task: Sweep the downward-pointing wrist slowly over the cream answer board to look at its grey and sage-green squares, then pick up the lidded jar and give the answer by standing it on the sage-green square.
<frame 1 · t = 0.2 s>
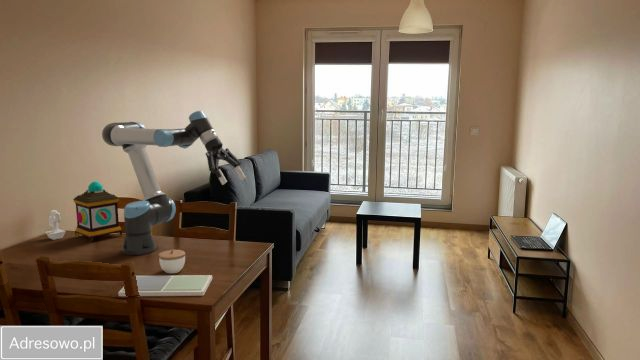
hand: (234, 181, 211), 36 cm above the table, tool tilted 35°, fingers open, 13 cm apart
answer board: (167, 287, 181), on the table
decorative lantern: (99, 236, 251), on the table
figurine: (56, 238, 247), on the table
lidded jar: (172, 271, 199), on the table
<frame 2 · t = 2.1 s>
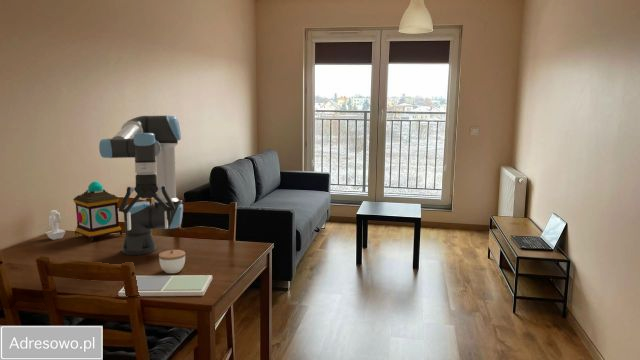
hand: (148, 229, 180), 23 cm above the table, tool pointing down, fingers open, 13 cm apart
nothing on the table moved.
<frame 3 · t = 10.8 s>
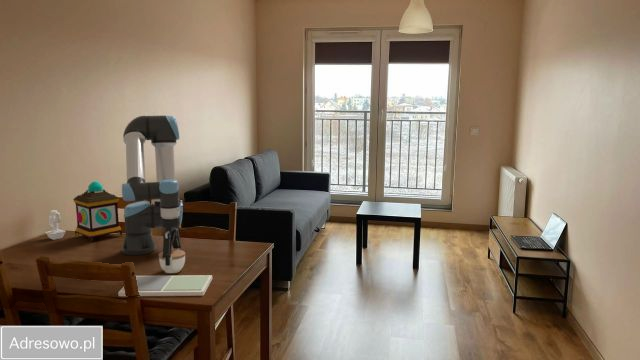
hand: (172, 267, 199), 1 cm above the table, tool pointing down, fingers closed on lidded jar, 11 cm apart
lidded jar: (172, 271, 199), on the table, touching gripper
everything else where it was.
when the fingers open (4 cm above the table, at t = 19.1 s): lidded jar drops 1 cm, resting on answer board.
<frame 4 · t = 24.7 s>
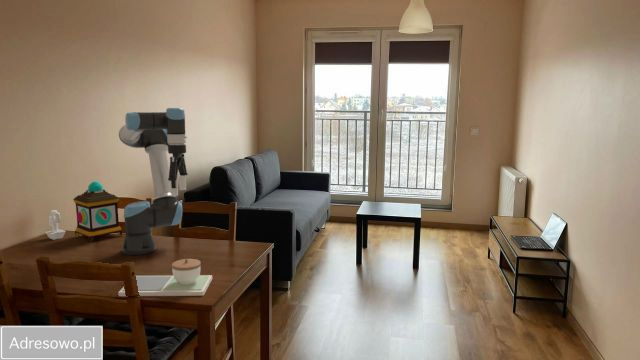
hand: (178, 192, 205), 32 cm above the table, tool pointing down, fingers open, 13 cm apart
lidded jar: (187, 282, 181), point 2 cm above the table, touching answer board
everything else where it was.
at the end: lidded jar inside the target area on the answer board (0.2 cm from its centre), point 1.6 cm above the answer board's base; lidded jar tilted 0°; the gripper is holding nothing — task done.
